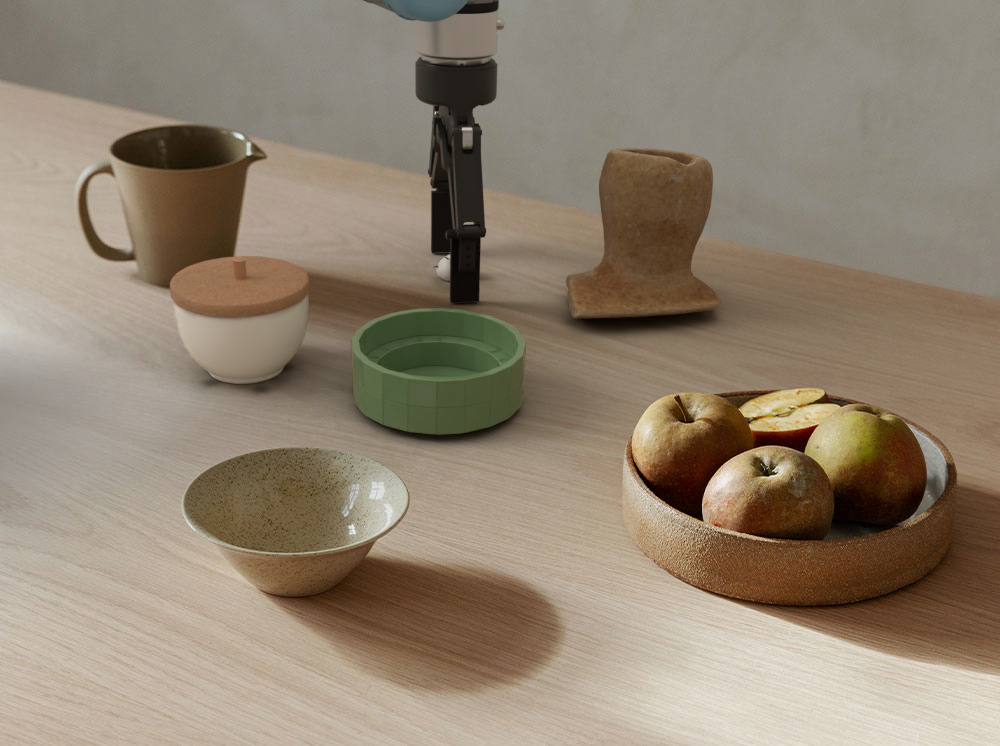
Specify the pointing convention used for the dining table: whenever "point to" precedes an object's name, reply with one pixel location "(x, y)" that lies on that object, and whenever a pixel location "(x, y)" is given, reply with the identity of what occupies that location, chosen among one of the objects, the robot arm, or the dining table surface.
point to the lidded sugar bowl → (241, 315)
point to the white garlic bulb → (444, 268)
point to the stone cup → (647, 237)
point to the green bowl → (438, 370)
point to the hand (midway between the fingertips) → (453, 275)
